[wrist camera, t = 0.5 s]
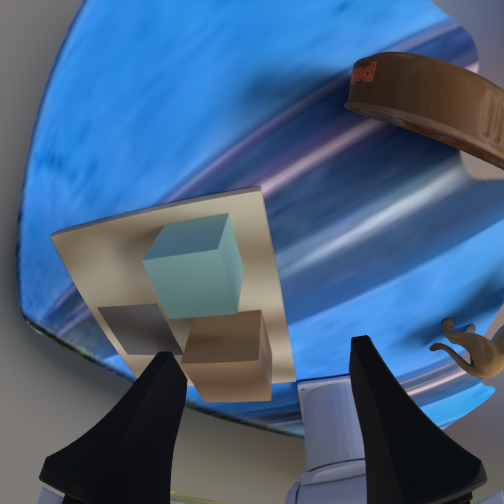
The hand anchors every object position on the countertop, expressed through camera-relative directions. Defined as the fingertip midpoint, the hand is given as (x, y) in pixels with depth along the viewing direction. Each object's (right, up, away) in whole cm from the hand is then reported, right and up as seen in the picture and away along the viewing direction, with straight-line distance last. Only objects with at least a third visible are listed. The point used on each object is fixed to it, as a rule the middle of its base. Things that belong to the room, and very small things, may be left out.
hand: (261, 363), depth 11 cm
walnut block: (-2, -2, +11) cm, 11 cm away
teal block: (-3, +5, +7) cm, 9 cm away
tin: (+11, +12, +2) cm, 17 cm away
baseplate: (-6, -1, +11) cm, 13 cm away
